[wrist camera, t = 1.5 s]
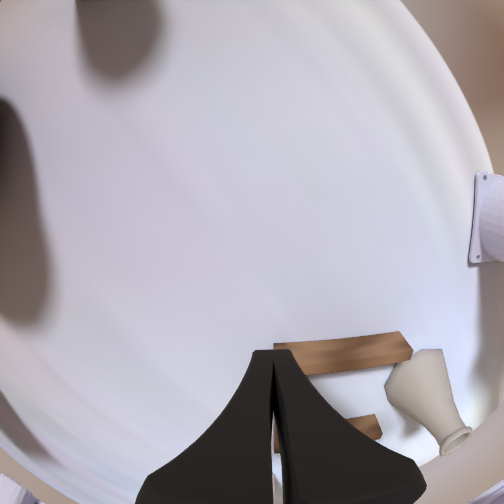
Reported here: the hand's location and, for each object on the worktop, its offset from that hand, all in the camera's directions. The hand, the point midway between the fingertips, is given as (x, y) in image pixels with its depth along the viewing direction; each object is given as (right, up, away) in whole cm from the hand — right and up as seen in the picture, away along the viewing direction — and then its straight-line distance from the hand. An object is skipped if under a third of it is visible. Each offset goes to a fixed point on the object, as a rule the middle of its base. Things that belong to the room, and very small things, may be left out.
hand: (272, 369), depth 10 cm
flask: (+16, -8, +13) cm, 22 cm away
